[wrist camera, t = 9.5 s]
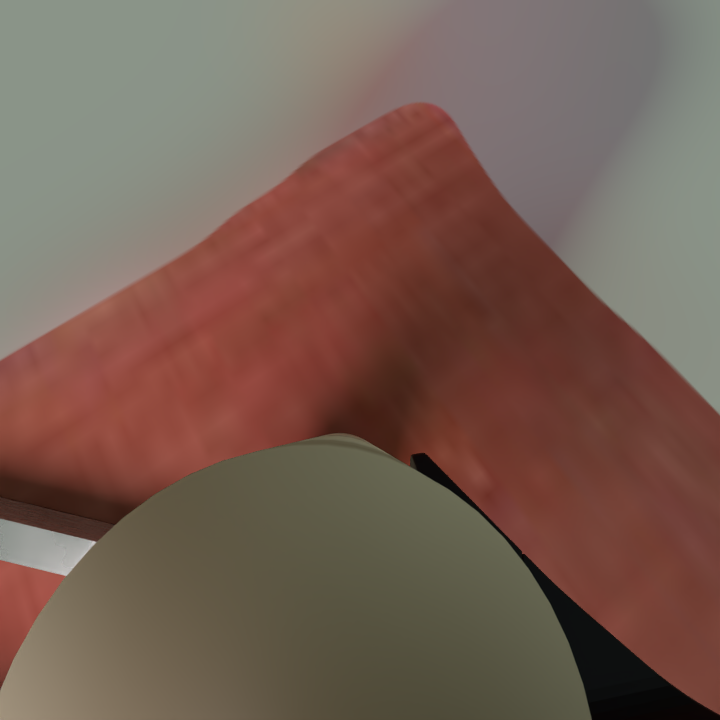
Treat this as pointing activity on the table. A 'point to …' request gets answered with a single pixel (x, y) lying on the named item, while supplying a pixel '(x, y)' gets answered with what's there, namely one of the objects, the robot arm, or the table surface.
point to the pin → (298, 604)
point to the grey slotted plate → (46, 536)
